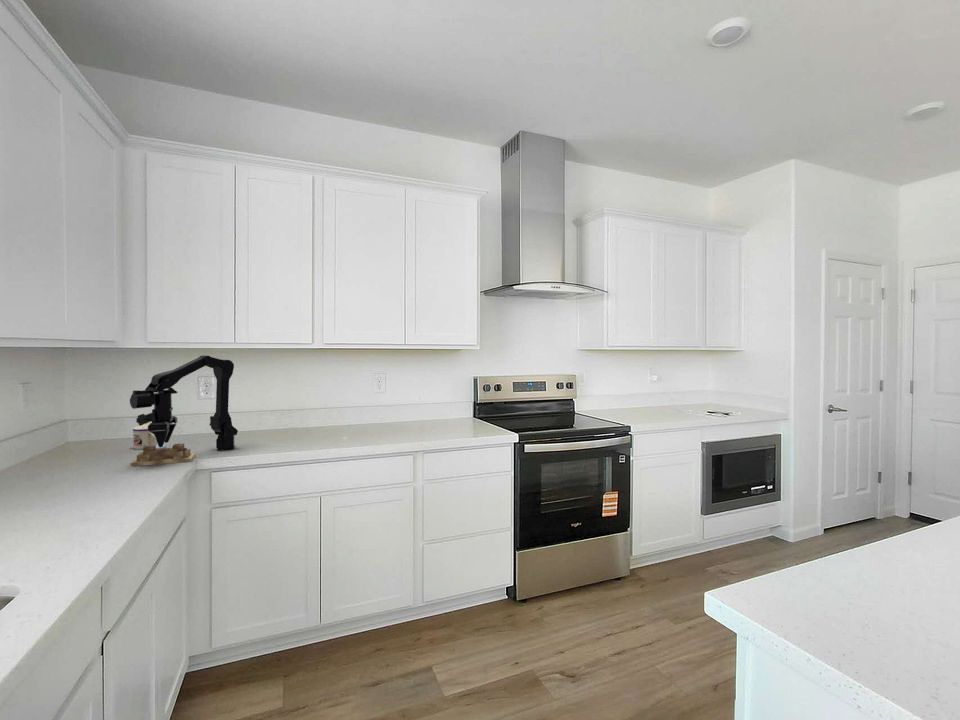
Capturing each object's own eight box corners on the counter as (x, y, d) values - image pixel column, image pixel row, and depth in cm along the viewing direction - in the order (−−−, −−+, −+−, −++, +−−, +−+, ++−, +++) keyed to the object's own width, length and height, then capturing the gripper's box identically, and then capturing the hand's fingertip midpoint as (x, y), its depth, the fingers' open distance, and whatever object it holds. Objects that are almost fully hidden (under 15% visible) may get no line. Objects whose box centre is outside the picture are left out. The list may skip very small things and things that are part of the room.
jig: (195, 456, 193) (195, 446, 193) (191, 461, 184) (191, 451, 184) (137, 460, 185) (137, 450, 185) (130, 466, 177) (130, 455, 177)
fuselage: (184, 455, 189) (184, 443, 189) (182, 457, 185) (182, 445, 185) (146, 458, 184) (145, 445, 184) (143, 460, 181) (142, 447, 180)
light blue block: (166, 453, 198) (166, 444, 198) (162, 457, 191) (161, 447, 191) (155, 454, 197) (155, 445, 196) (150, 458, 190) (150, 448, 190)
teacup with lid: (128, 448, 207) (128, 422, 207) (151, 444, 215) (150, 419, 215) (142, 451, 201) (142, 424, 201) (165, 447, 209) (164, 421, 209)
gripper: (145, 403, 189) (146, 441, 190) (130, 409, 172) (131, 451, 173) (177, 402, 194) (178, 439, 194) (166, 408, 176) (167, 449, 177)
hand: (163, 444), depth 184 cm, fingers open, 9 cm apart
